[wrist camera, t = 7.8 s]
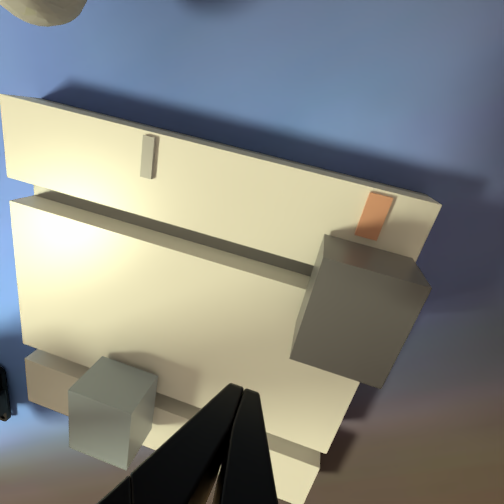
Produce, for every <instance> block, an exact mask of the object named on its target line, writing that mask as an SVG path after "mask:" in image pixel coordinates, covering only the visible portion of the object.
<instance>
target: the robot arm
mask: <svg viewBox="0 0 504 504" xmlns="http://www.w3.org/2000/svg"><path fill="white" fill-rule="evenodd" d="M10 417H11V412H10V404H9V396H8V389H7V381H6V373H5V370H4V369H3V368H2V367H0V420H2V421H7V420H8V419H9V418H10ZM220 467H221V468H220ZM219 470H220V471H219ZM218 473H219V475H218ZM217 476H218V479H217V484H216V488H215V493H214V498H213V503H212V504H278V499H277V493H276V487H275V481H274V475H273V469H272V464H271V458H270V452H269V446H268V440H267V434H266V428H265V422H264V417H263V411H262V405H261V399H260V394H259V393H258V392H256V391H254V390H251V389H248V388H246V389H244V388H243V387H242V386H239V385H236V384H233V383H229V384H228V385H226V386H225V387H224V388H223V389H222V390H221V391H220V392H219V393H218V394H217V395H216V396H214V397H213V398H212V399H211V400H210V401H209V402H208V403H207V404H206V405H205V406H204V407H202V408H201V409H200V410H199V411H198V412H197V413H196V414H195V415H194V416H193V417H192V418H191V419H189V420H188V421H187V422H186V423H185V424H184V425H183V426H182V427H181V428H180V429H179V430H177V431H176V432H175V433H174V434H173V435H172V436H171V437H170V438H169V439H168V440H167V441H165V442H164V443H163V444H162V445H161V446H160V447H159V448H158V449H157V450H156V451H155V452H153V453H152V454H151V455H150V456H149V457H148V458H147V459H146V460H145V461H144V462H143V463H141V464H140V465H139V466H138V467H137V468H136V469H135V470H134V471H133V472H132V473H131V475H130V476H127V477H126V478H125V479H124V480H123V481H122V482H120V483H119V484H118V485H117V486H116V487H115V488H114V489H113V490H112V491H111V492H109V493H108V494H107V495H106V496H105V497H104V498H102V499H101V500H100V501H99V502H98V503H97V504H206V502H207V499H208V497H209V495H210V493H211V490H212V488H213V486H214V483H215V481H216V478H217Z"/></svg>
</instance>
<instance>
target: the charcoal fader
mask: <svg viewBox="0 0 504 504" xmlns="http://www.w3.org/2000/svg"><path fill="white" fill-rule="evenodd" d="M431 289H432V288H431V286H430V284H429V283H428V281H427V280H426V278H425V277H424V275H423V274H422V272H421V271H420V269H419V268H418V266H417V265H416V263H415V261H414V260H413V258H410V257H407V256H403V255H399V254H396V253H392V252H389V251H385V250H381V249H378V248H374V247H370V246H367V245H363V244H359V243H356V242H352V241H349V240H345V239H341V238H338V237H334V236H330V235H327V234H324V236H323V240H322V243H321V246H320V249H319V252H318V255H317V258H316V261H315V264H314V267H313V270H312V273H311V277H310V280H309V283H308V286H307V289H306V292H305V295H304V298H303V301H302V304H301V307H300V310H299V314H298V317H297V320H296V324H295V330H294V335H293V341H292V347H291V352H290V358H289V359H291V360H294V361H297V362H301V363H304V364H307V365H310V366H313V367H316V368H319V369H322V370H325V371H328V372H331V373H334V374H337V375H340V376H343V377H346V378H349V379H352V380H355V381H358V382H361V383H364V384H367V385H370V386H373V387H376V388H379V389H381V388H382V386H383V384H384V382H385V380H386V378H387V376H388V374H389V372H390V370H391V368H392V366H393V364H394V362H395V360H396V358H397V356H398V355H399V353H400V351H401V349H402V347H403V345H404V343H405V341H406V339H407V337H408V335H409V333H410V331H411V329H412V327H413V325H414V323H415V321H416V319H417V317H418V315H419V313H420V311H421V309H422V307H423V305H424V303H425V301H426V299H427V297H428V295H429V293H430V291H431Z"/></svg>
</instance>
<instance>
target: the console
mask: <svg viewBox="0 0 504 504" xmlns="http://www.w3.org/2000/svg"><path fill="white" fill-rule="evenodd" d="M0 105H1V116H2V126H3V137H4V148H5V158H6V169H7V177H9V178H13V179H16V180H20V181H23V182H27V183H30V184H34V195H33V196H29V197H24V198H20V199H15V200H10V211H11V222H12V232H13V243H14V253H15V264H16V275H17V285H18V296H19V306H20V317H21V328H22V338H23V344H26V345H29V346H31V347H34V348H37V350H35V351H34V352H32V353H31V354H30V355H28V356H27V357H26V358H24V359H25V370H26V381H27V391H28V401H31V402H33V403H36V404H39V405H41V406H44V407H46V408H49V409H51V410H54V411H56V412H59V413H62V414H64V415H67V416H69V411H68V389H69V388H70V387H71V386H72V385H73V384H74V383H75V382H76V381H77V380H78V379H79V378H80V377H82V376H83V375H84V374H85V373H86V372H87V371H88V370H89V369H90V368H91V367H92V366H93V365H94V364H95V363H96V362H97V361H98V360H99V359H100V358H101V357H102V356H104V357H107V358H110V359H112V360H115V361H118V362H121V363H124V364H126V365H129V366H132V367H135V368H138V369H140V370H143V371H146V372H149V373H152V374H154V375H157V376H158V381H157V389H156V397H155V405H154V413H153V421H152V429H151V431H150V432H149V434H148V436H147V437H146V439H145V441H144V442H143V444H142V445H144V446H146V447H149V448H151V449H154V450H157V449H158V448H159V447H160V446H161V445H162V444H163V443H164V442H165V441H167V440H168V439H169V438H170V437H171V436H172V435H173V434H174V433H175V432H176V431H177V430H179V429H180V428H181V427H182V426H183V425H184V424H185V423H186V422H187V421H188V420H189V419H191V418H192V417H193V416H194V415H195V414H196V413H197V412H198V411H199V410H200V409H201V408H202V407H204V406H205V405H206V404H207V403H208V402H209V401H210V400H211V399H212V398H213V397H214V396H216V395H217V394H218V393H219V392H220V391H221V390H222V389H223V388H224V387H225V386H226V385H228V384H229V383H233V384H236V385H239V386H242V387H243V388H244V389H246V388H248V389H251V390H254V391H256V392H258V393H259V394H260V399H261V405H262V411H263V417H264V422H265V428H266V434H267V440H268V446H269V452H270V458H271V464H272V469H273V475H274V481H275V487H276V493H277V498H279V499H282V500H285V501H287V502H290V503H292V504H303V503H304V501H305V499H306V497H307V495H308V493H309V490H310V488H311V486H312V484H313V482H314V480H315V478H316V475H317V473H318V471H319V469H320V452H322V453H325V454H327V452H328V450H329V447H330V445H331V443H332V441H333V439H334V437H335V435H336V432H337V430H338V428H339V426H340V424H341V422H342V419H343V417H344V415H345V413H346V411H347V409H348V407H349V404H350V402H351V400H352V398H353V396H354V394H355V392H356V389H357V387H358V385H359V383H360V382H358V381H355V380H352V379H349V378H346V377H343V376H340V375H337V374H334V373H331V372H328V371H325V370H322V369H319V368H316V367H313V366H310V365H307V364H304V363H301V362H297V361H294V360H291V359H289V358H290V352H291V347H292V341H293V335H294V330H295V324H296V320H297V317H298V314H299V310H300V307H301V304H302V301H303V298H304V295H305V292H306V289H307V286H308V283H309V280H310V277H311V273H312V270H313V267H314V264H315V261H316V258H317V255H318V252H319V249H320V246H321V243H322V240H323V236H324V234H327V235H330V236H334V237H338V238H341V239H345V240H349V241H352V242H356V243H359V244H363V245H367V246H370V247H374V248H378V249H381V250H385V251H389V252H392V253H396V254H399V255H403V256H407V257H410V258H413V260H414V261H415V262H416V260H417V258H418V256H419V254H420V252H421V249H422V247H423V245H424V243H425V241H426V239H427V237H428V234H429V232H430V230H431V228H432V226H433V224H434V222H435V219H436V217H437V215H438V213H439V211H440V209H441V206H442V205H441V204H440V203H438V202H437V201H435V200H434V199H432V198H431V197H429V196H428V195H426V194H423V193H419V192H415V191H411V190H407V189H403V188H399V187H395V186H390V185H386V184H382V183H378V182H374V181H370V180H366V179H362V178H358V177H354V176H350V175H346V174H342V173H338V172H334V171H330V170H326V169H322V168H318V167H314V166H310V165H306V164H302V163H298V162H294V161H290V160H286V159H282V158H278V157H274V156H270V155H266V154H262V153H258V152H254V151H250V150H246V149H242V148H238V147H234V146H230V145H226V144H222V143H218V142H214V141H210V140H206V139H202V138H198V137H194V136H190V135H186V134H182V133H178V132H173V131H169V130H165V129H161V128H157V127H153V126H149V125H145V124H141V123H137V122H133V121H129V120H125V119H121V118H117V117H113V116H109V115H105V114H101V113H97V112H93V111H89V110H85V109H81V108H77V107H73V106H69V105H65V104H61V103H57V102H53V101H49V100H45V99H41V98H33V97H24V96H15V95H7V94H0ZM220 468H221V467H220ZM219 471H220V470H219ZM218 475H219V473H218Z"/></svg>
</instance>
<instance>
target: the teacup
mask: <svg viewBox="0 0 504 504" xmlns="http://www.w3.org/2000/svg"><path fill="white" fill-rule="evenodd" d="M86 2H87V0H0V5H2V6H3V7H4V8H5V9H7V10H8V11H9V12H11V13H12V14H13V15H14V16H16V17H18V18H20V19H22V20H23V21H25V22H28V23H30V24H34V25H38V26H47V27H49V26H56V25H62V24H66V23H68V22H70V21H72V20H74V19H75V18H76V17H77V16H78V15H80V13H81V11H82V9H83V7H84V6H85V4H86Z"/></svg>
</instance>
